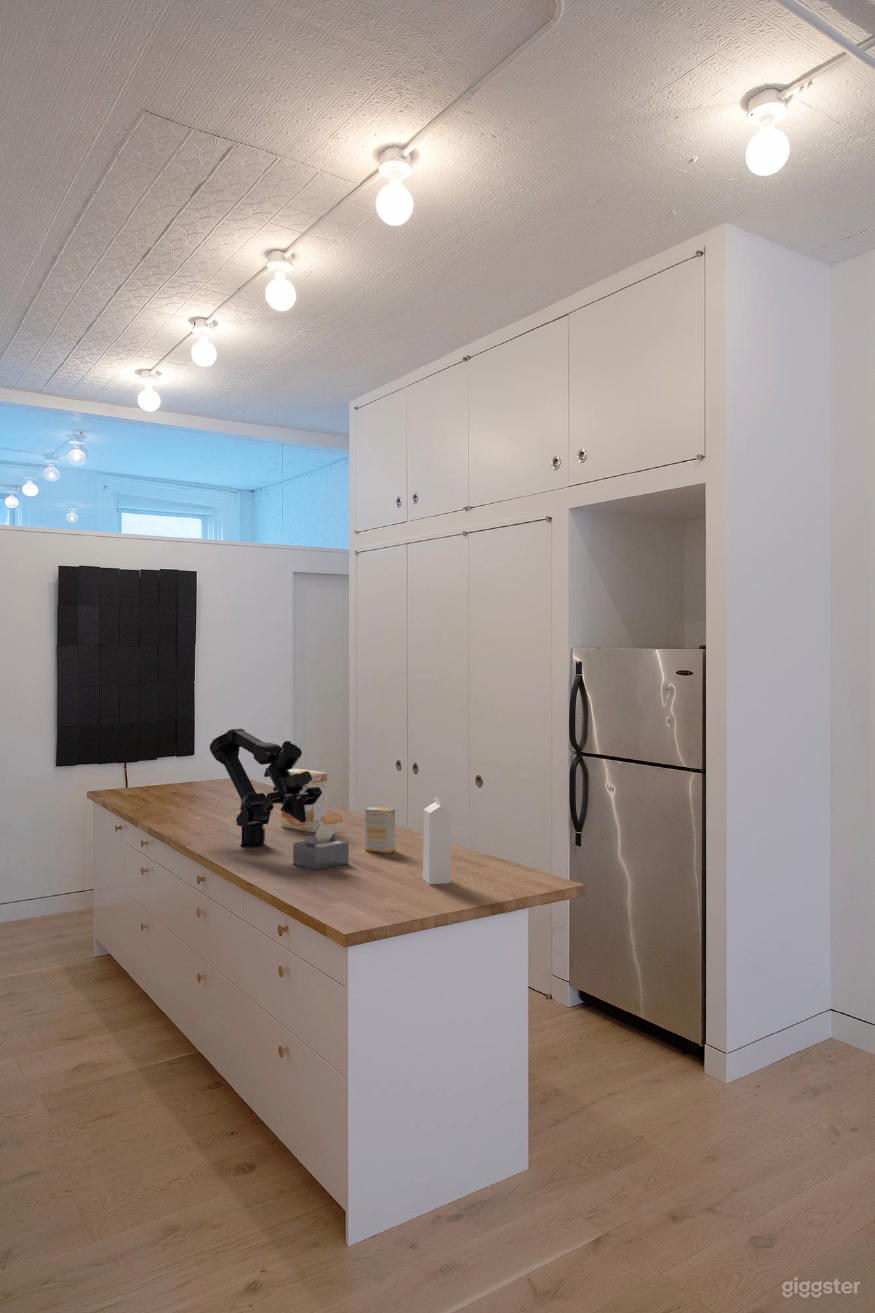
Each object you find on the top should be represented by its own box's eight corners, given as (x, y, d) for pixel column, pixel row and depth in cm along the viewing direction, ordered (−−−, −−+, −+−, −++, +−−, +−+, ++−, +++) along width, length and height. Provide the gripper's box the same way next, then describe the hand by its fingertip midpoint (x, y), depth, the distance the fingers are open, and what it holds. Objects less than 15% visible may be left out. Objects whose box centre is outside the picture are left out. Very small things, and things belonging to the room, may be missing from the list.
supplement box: (395, 850, 270) (396, 808, 270) (388, 854, 265) (388, 810, 265) (372, 848, 273) (372, 805, 273) (364, 851, 269) (364, 808, 269)
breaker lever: (310, 838, 251) (322, 815, 247) (327, 835, 255) (339, 812, 251) (314, 844, 249) (326, 821, 246) (331, 841, 254) (343, 818, 250)
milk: (429, 885, 231) (429, 801, 231) (422, 879, 237) (423, 797, 237) (451, 883, 233) (451, 800, 233) (444, 877, 239) (445, 796, 239)
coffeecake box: (280, 827, 304) (281, 770, 304) (295, 823, 310) (295, 768, 309) (312, 832, 295) (313, 774, 295) (327, 829, 301) (327, 771, 301)
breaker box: (293, 864, 251) (293, 834, 251) (326, 857, 260) (326, 829, 260) (315, 870, 245) (315, 840, 244) (348, 863, 253) (348, 834, 253)
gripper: (267, 765, 254) (290, 809, 247) (319, 760, 268) (341, 801, 260) (251, 789, 260) (273, 832, 253) (302, 782, 273) (324, 823, 266)
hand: (304, 821), depth 258 cm, fingers closed
